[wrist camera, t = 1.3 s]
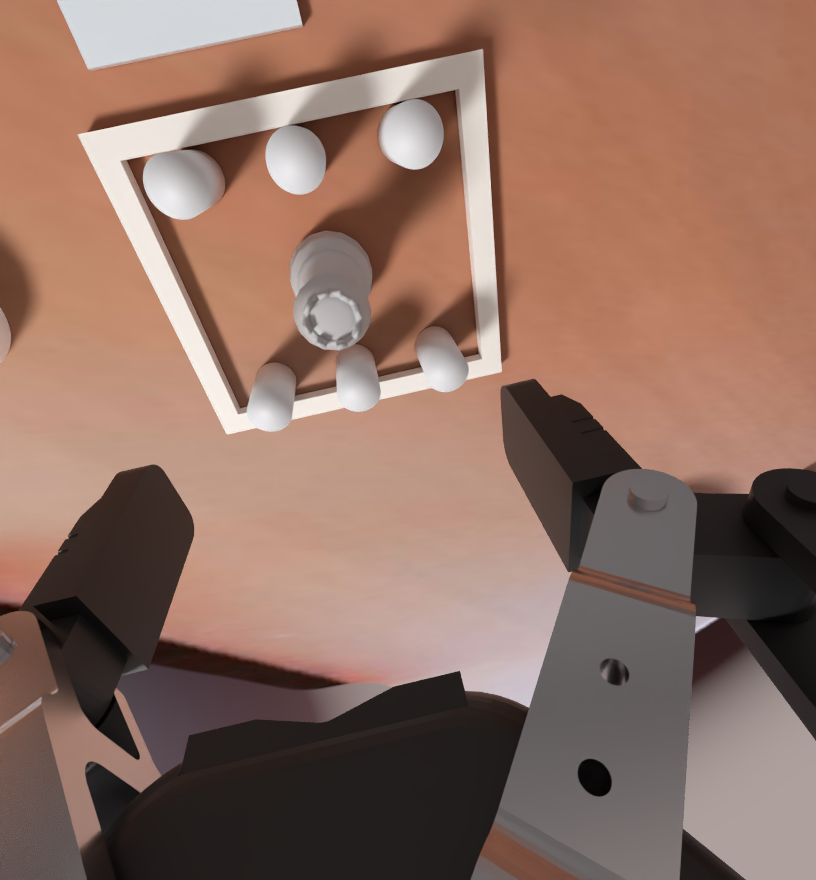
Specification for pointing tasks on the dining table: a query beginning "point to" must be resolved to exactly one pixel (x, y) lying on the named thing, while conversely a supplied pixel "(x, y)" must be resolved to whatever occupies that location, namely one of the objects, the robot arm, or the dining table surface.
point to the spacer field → (299, 172)
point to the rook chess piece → (331, 290)
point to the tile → (168, 26)
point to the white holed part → (4, 336)
